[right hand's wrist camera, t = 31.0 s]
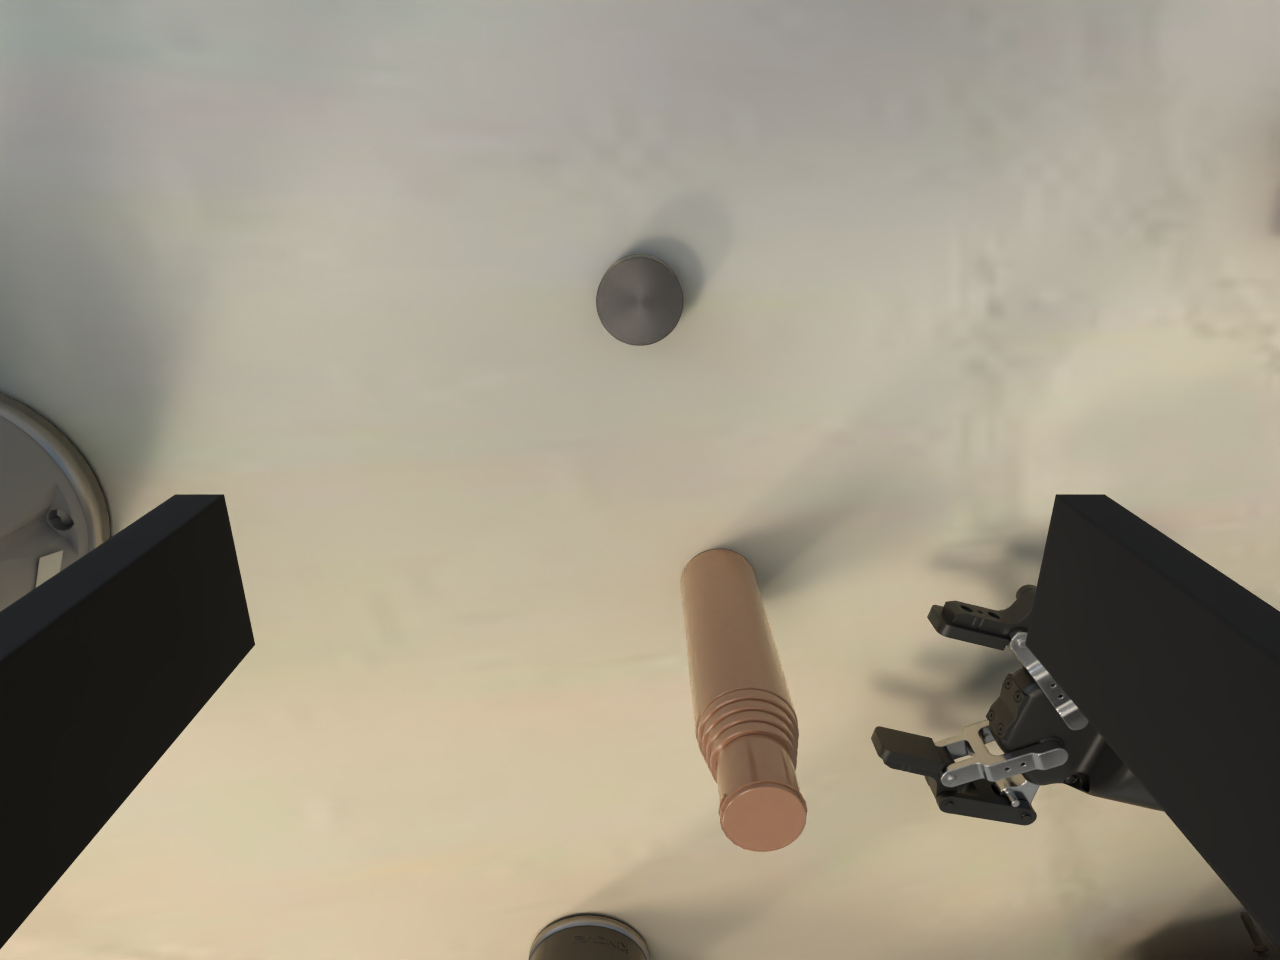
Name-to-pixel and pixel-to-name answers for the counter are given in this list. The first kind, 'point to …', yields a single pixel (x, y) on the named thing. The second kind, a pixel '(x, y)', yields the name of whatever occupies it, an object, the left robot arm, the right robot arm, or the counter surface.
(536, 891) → the counter surface
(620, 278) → the cap
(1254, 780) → the right robot arm
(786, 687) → the bottle
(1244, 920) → the fossil
